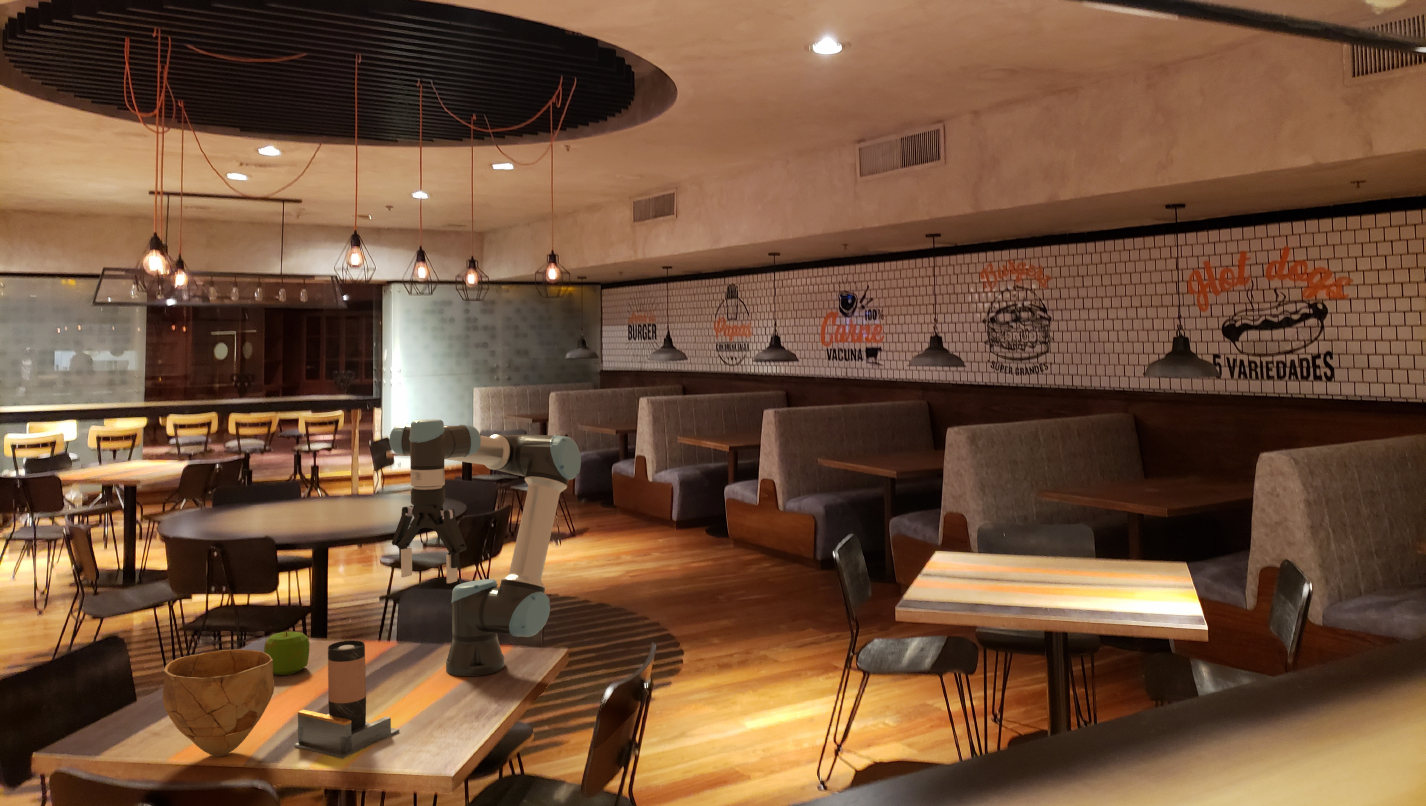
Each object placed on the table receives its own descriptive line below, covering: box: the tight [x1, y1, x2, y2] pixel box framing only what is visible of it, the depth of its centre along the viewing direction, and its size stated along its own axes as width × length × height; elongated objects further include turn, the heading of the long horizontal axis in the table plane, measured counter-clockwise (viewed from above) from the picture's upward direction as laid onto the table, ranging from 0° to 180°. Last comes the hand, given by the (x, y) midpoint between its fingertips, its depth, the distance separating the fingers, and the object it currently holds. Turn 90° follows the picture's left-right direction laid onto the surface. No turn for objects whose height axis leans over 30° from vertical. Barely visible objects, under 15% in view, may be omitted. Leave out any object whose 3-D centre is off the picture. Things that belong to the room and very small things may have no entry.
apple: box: [263, 630, 311, 676], centre depth 258 cm, size 11×11×11 cm
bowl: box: [162, 648, 275, 758], centre depth 202 cm, size 21×20×20 cm
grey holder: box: [294, 709, 400, 760], centre depth 211 cm, size 16×14×7 cm
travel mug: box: [327, 640, 367, 731], centre depth 210 cm, size 8×8×20 cm
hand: (429, 579), depth 224 cm, fingers open, 13 cm apart
